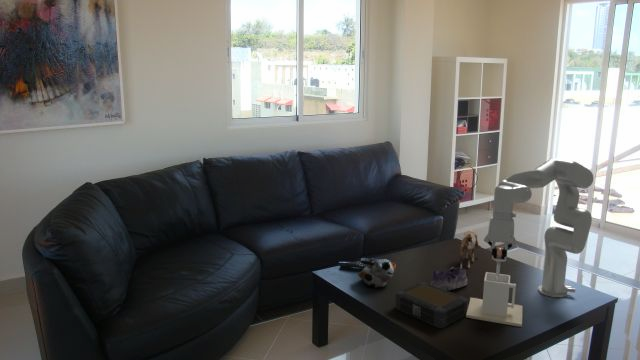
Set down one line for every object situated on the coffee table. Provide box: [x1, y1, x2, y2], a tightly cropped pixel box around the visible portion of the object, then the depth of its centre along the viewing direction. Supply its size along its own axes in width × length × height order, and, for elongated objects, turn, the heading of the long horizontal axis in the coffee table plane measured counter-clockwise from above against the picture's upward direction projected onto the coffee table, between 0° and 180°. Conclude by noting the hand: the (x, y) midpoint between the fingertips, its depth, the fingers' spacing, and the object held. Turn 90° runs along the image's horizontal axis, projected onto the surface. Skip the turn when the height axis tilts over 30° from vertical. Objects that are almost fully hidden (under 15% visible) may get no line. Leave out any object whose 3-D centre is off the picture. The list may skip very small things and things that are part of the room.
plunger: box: [491, 246, 507, 282], centre depth 215 cm, size 8×8×21 cm
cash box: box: [394, 281, 469, 329], centre depth 219 cm, size 25×20×8 cm
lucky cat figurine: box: [357, 258, 397, 289], centre depth 248 cm, size 17×14×16 cm
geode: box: [430, 266, 469, 292], centre depth 244 cm, size 20×12×10 cm, turn 123°
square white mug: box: [465, 271, 523, 328], centre depth 217 cm, size 22×18×16 cm
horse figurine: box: [459, 230, 482, 270], centre depth 272 cm, size 31×8×21 cm, turn 152°
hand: (499, 257), depth 213 cm, fingers closed on plunger, 3 cm apart
